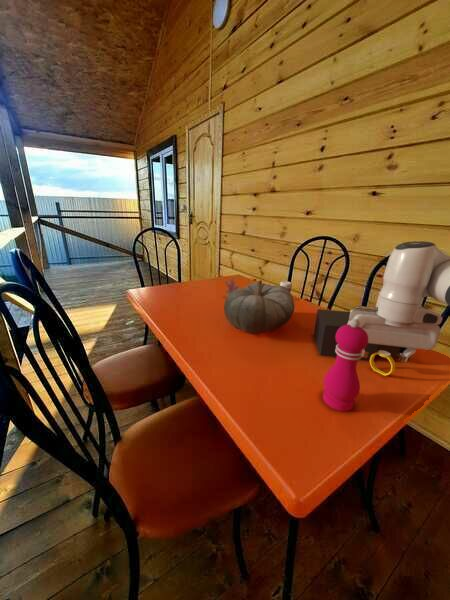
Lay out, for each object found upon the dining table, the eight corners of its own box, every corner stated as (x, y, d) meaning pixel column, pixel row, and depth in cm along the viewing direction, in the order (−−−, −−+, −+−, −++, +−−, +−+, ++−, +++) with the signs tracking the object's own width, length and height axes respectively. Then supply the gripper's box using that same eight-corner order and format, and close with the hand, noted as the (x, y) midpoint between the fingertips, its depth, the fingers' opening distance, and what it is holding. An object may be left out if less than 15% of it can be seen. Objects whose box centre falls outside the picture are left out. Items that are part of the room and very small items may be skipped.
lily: (221, 305, 114) (231, 289, 110) (211, 289, 122) (221, 273, 118) (241, 308, 122) (251, 293, 117) (231, 293, 129) (240, 278, 125)
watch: (394, 377, 66) (400, 357, 64) (387, 380, 65) (393, 360, 63) (372, 365, 71) (377, 346, 69) (366, 367, 70) (370, 348, 68)
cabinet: (359, 340, 85) (365, 313, 82) (373, 361, 73) (381, 330, 70) (313, 335, 87) (317, 309, 84) (320, 355, 75) (325, 325, 72)
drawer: (404, 343, 82) (411, 320, 79) (424, 362, 71) (433, 337, 69) (346, 337, 85) (350, 315, 82) (357, 355, 74) (363, 330, 71)
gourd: (305, 317, 95) (304, 273, 88) (278, 354, 77) (274, 303, 70) (247, 308, 109) (242, 269, 102) (213, 338, 91) (204, 294, 84)
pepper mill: (323, 386, 61) (338, 309, 55) (356, 397, 58) (376, 317, 51) (317, 404, 56) (333, 321, 49) (353, 418, 52) (376, 330, 45)
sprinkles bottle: (276, 311, 107) (279, 280, 103) (287, 312, 107) (291, 281, 102) (277, 315, 103) (281, 283, 98) (289, 316, 103) (293, 284, 98)
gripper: (355, 309, 60) (343, 359, 65) (451, 318, 57) (431, 370, 62) (347, 301, 66) (337, 347, 71) (434, 309, 63) (417, 357, 68)
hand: (382, 358), depth 66 cm, fingers open, 8 cm apart
